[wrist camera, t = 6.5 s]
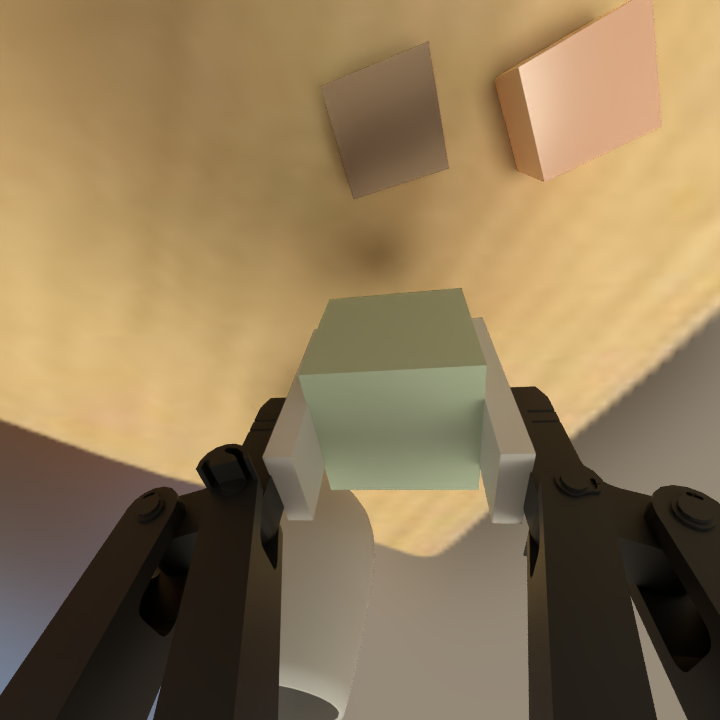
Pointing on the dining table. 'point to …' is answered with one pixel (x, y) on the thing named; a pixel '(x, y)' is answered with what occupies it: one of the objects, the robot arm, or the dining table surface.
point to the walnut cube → (387, 122)
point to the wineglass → (323, 605)
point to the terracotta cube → (584, 93)
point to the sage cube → (397, 392)
